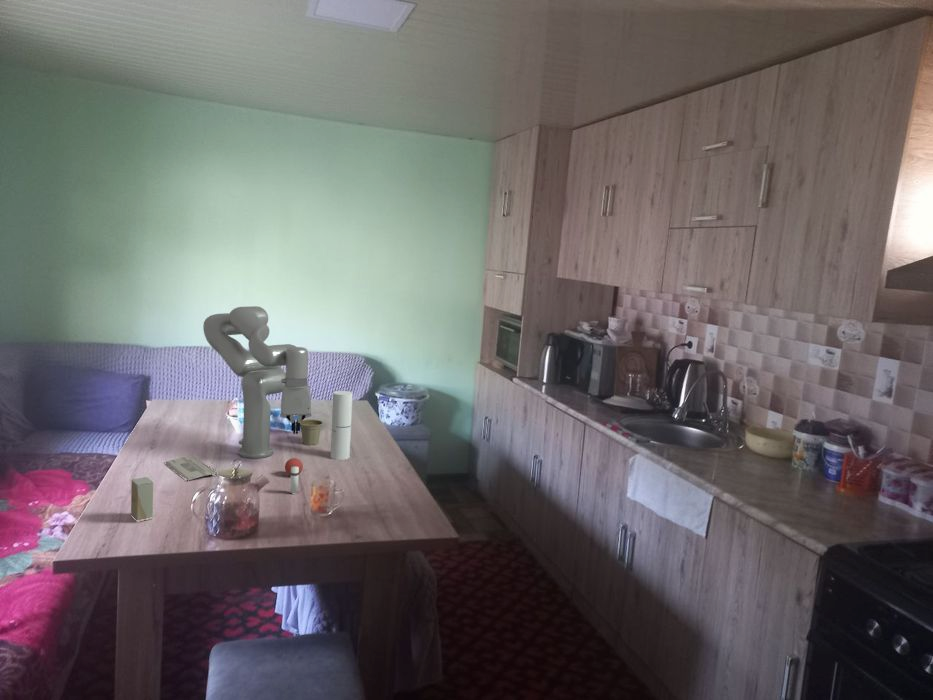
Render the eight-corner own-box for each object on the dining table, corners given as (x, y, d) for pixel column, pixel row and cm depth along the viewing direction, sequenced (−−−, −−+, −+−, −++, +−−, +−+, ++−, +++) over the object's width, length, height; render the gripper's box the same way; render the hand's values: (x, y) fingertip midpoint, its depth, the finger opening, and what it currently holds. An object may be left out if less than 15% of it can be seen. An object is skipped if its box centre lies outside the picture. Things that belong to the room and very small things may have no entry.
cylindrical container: (345, 461, 245) (348, 395, 242) (327, 458, 246) (330, 393, 243) (352, 455, 252) (355, 392, 249) (334, 453, 253) (337, 390, 250)
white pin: (288, 493, 209) (289, 467, 208) (294, 491, 211) (295, 465, 210) (293, 495, 208) (294, 469, 207) (299, 493, 210) (300, 467, 209)
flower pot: (299, 447, 258) (299, 425, 257) (297, 440, 267) (298, 419, 266) (323, 446, 261) (324, 425, 260) (320, 439, 270) (321, 419, 269)
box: (130, 517, 183) (130, 479, 182) (146, 513, 186) (146, 476, 185) (137, 523, 180) (137, 484, 178) (153, 519, 183) (153, 481, 181)
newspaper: (224, 477, 221) (223, 470, 221) (187, 487, 213) (186, 480, 213) (198, 458, 238) (198, 452, 237) (163, 467, 229) (162, 461, 229)
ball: (280, 475, 225) (281, 458, 224) (294, 471, 230) (295, 454, 229) (292, 479, 222) (293, 462, 221) (306, 475, 227) (306, 458, 226)
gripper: (274, 384, 225) (273, 436, 227) (318, 384, 229) (317, 435, 231) (274, 380, 232) (273, 430, 234) (317, 380, 236) (316, 430, 238)
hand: (295, 433), depth 233 cm, fingers closed
